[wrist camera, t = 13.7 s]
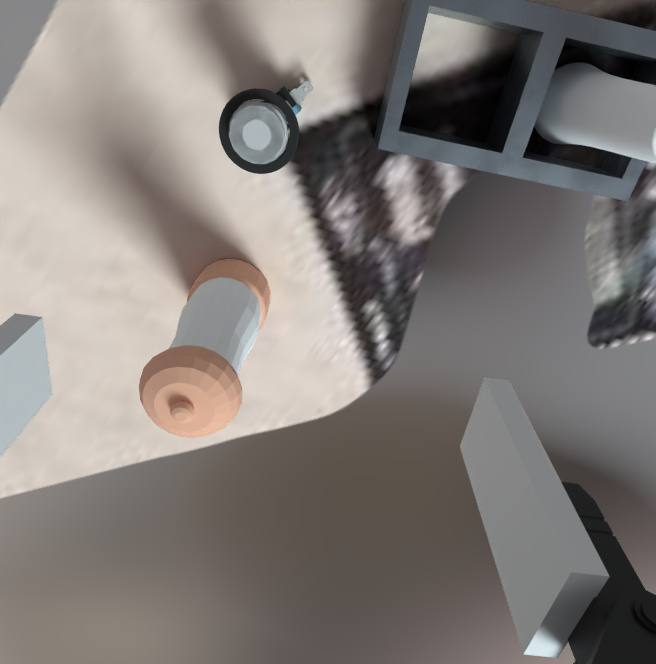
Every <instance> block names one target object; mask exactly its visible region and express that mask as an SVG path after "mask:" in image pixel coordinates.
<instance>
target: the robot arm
mask: <svg viewBox="0 0 656 664" xmlns="http://www.w3.org/2000/svg"><path fill="white" fill-rule="evenodd" d="M51 396H52V387H51V379H50V372H49V364H48V356H47V349H46V341H45V334H44V326H43V318H42V317H37V316H30V315H22V314H14V315H13V316H12V317H10V318H9V319H8V320H7V321H5V322H4V323H3V324H2V325H1V326H0V458H1V457H2V455H3V454H4V453H5V452H6V450H7V449H8V448H9V447H10V446H11V444H12V443H13V442H14V441H15V440H16V438H17V437H18V436H19V435H20V433H21V432H22V431H23V430H24V429H25V427H26V426H27V425H28V424H29V422H30V421H31V420H32V419H33V418H34V416H35V415H36V414H37V413H38V411H39V410H40V409H41V408H42V407H43V405H44V404H45V403H46V402H47V401H48V399H49V398H50V397H51ZM460 448H461V452H462V455H463V458H464V461H465V465H466V468H467V471H468V475H469V478H470V481H471V484H472V488H473V491H474V494H475V498H476V501H477V504H478V507H479V511H480V514H481V517H482V520H483V524H484V527H485V530H486V533H487V536H488V540H489V543H490V546H491V550H492V553H493V556H494V559H495V563H496V566H497V569H498V572H499V575H500V579H501V582H502V585H503V589H504V592H505V595H506V598H507V602H508V605H509V608H510V612H511V615H512V618H513V621H514V625H515V628H516V631H517V634H518V638H519V641H520V644H521V647H522V651H523V654H526V655H536V656H545V657H556V658H558V657H559V655H560V653H561V652H562V650H563V649H564V647H565V646H566V644H567V643H568V642H569V644H570V647H571V650H572V652H573V655H574V657H575V660H576V661H575V662H574V664H656V595H654V594H652V593H650V592H648V591H646V590H645V588H644V587H643V585H642V583H641V581H640V579H639V578H638V576H637V574H636V573H635V571H634V569H633V567H632V565H631V564H630V562H629V560H628V558H627V557H626V555H625V553H624V551H623V550H622V548H621V546H620V544H619V542H618V541H617V539H616V537H615V536H613V532H612V530H611V529H610V527H609V525H608V523H607V522H605V521H604V516H603V514H602V513H601V511H600V509H599V507H598V506H597V504H596V502H595V500H594V499H593V498H591V496H589V494H587V492H586V491H585V490H584V489H583V488H582V487H581V486H580V485H579V484H574V483H566V482H561V481H560V479H559V477H558V475H557V473H556V472H555V469H554V467H553V465H552V464H551V462H550V460H549V458H548V456H547V454H546V452H545V450H544V448H543V446H542V444H541V442H540V440H539V438H538V436H537V434H536V433H535V431H534V429H533V427H532V425H531V423H530V421H529V419H528V417H527V415H526V413H525V411H524V409H523V407H522V405H521V403H520V401H519V399H518V398H517V396H516V394H515V392H514V390H513V388H512V386H511V384H510V382H509V381H506V380H498V379H490V378H484V380H483V383H482V386H481V389H480V392H479V395H478V397H477V400H476V403H475V406H474V409H473V411H472V414H471V417H470V420H469V423H468V425H467V428H466V431H465V434H464V437H463V439H462V442H461V445H460Z"/></svg>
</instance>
